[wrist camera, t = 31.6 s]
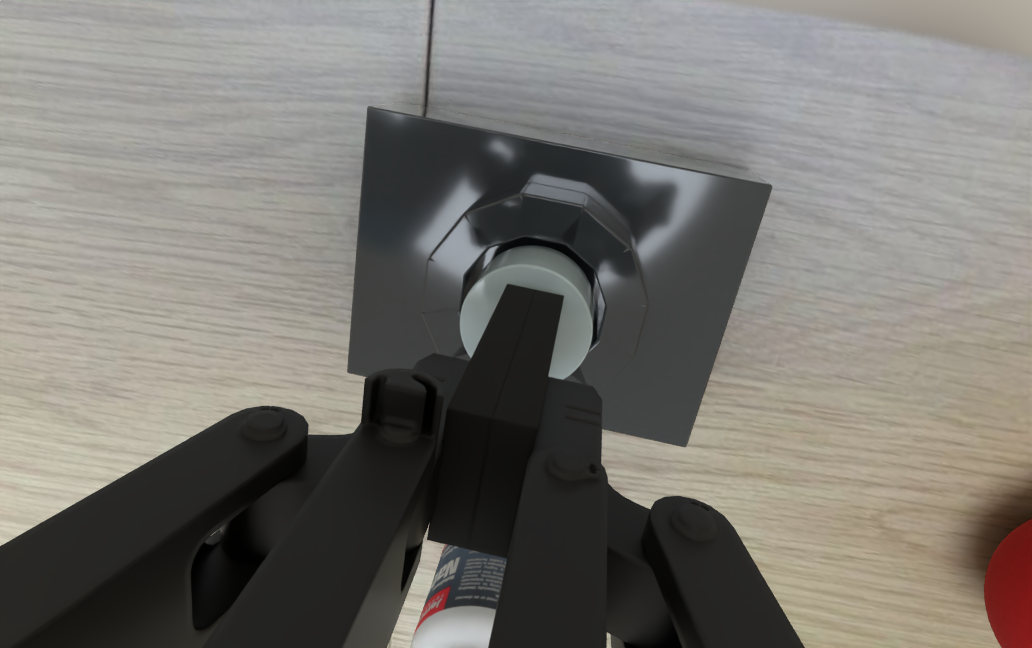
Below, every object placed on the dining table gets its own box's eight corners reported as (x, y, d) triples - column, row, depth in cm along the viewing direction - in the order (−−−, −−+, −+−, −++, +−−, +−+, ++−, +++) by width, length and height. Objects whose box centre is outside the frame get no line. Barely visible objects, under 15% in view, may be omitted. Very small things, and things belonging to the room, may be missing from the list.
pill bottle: (458, 487, 27) (394, 666, 19) (576, 518, 27) (563, 712, 19) (438, 578, 29) (373, 774, 21) (548, 608, 29) (525, 818, 21)
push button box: (377, 337, 25) (325, 397, 20) (399, 101, 22) (343, 109, 17) (676, 403, 24) (693, 480, 20) (750, 169, 21) (790, 197, 16)
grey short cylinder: (465, 344, 20) (450, 374, 18) (483, 233, 18) (469, 252, 16) (579, 369, 19) (577, 402, 17) (606, 258, 18) (606, 280, 16)
